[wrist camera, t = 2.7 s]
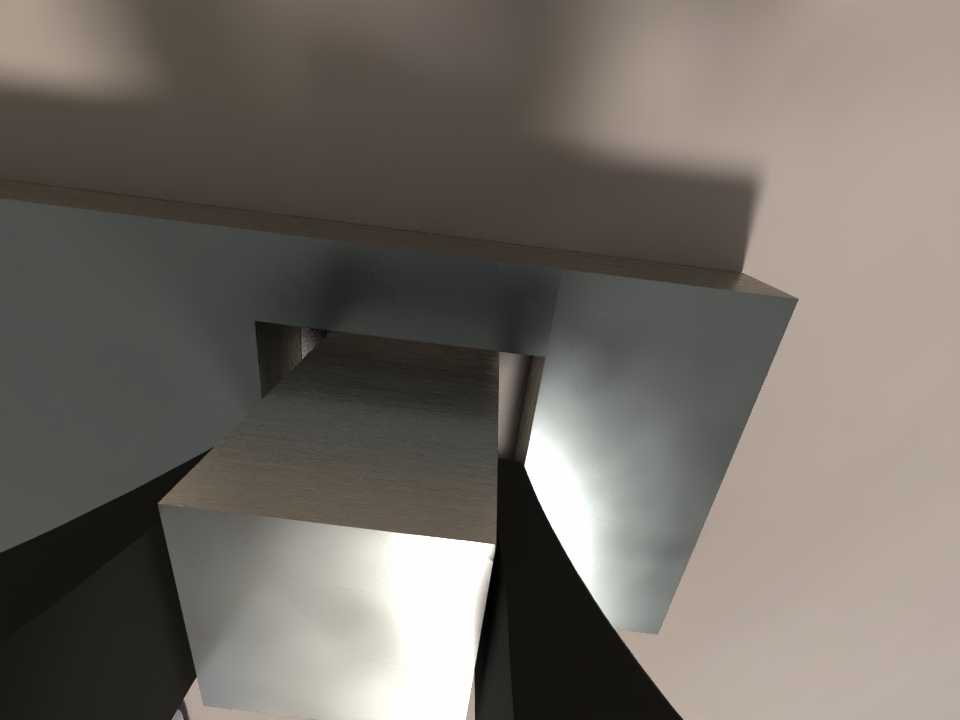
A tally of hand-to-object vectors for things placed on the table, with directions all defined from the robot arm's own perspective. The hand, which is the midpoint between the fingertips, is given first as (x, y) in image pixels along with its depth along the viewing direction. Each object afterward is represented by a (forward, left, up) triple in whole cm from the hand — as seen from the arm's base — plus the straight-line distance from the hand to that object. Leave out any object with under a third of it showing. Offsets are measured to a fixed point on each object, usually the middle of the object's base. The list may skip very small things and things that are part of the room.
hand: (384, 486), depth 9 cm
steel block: (0, 0, -3) cm, 3 cm away
